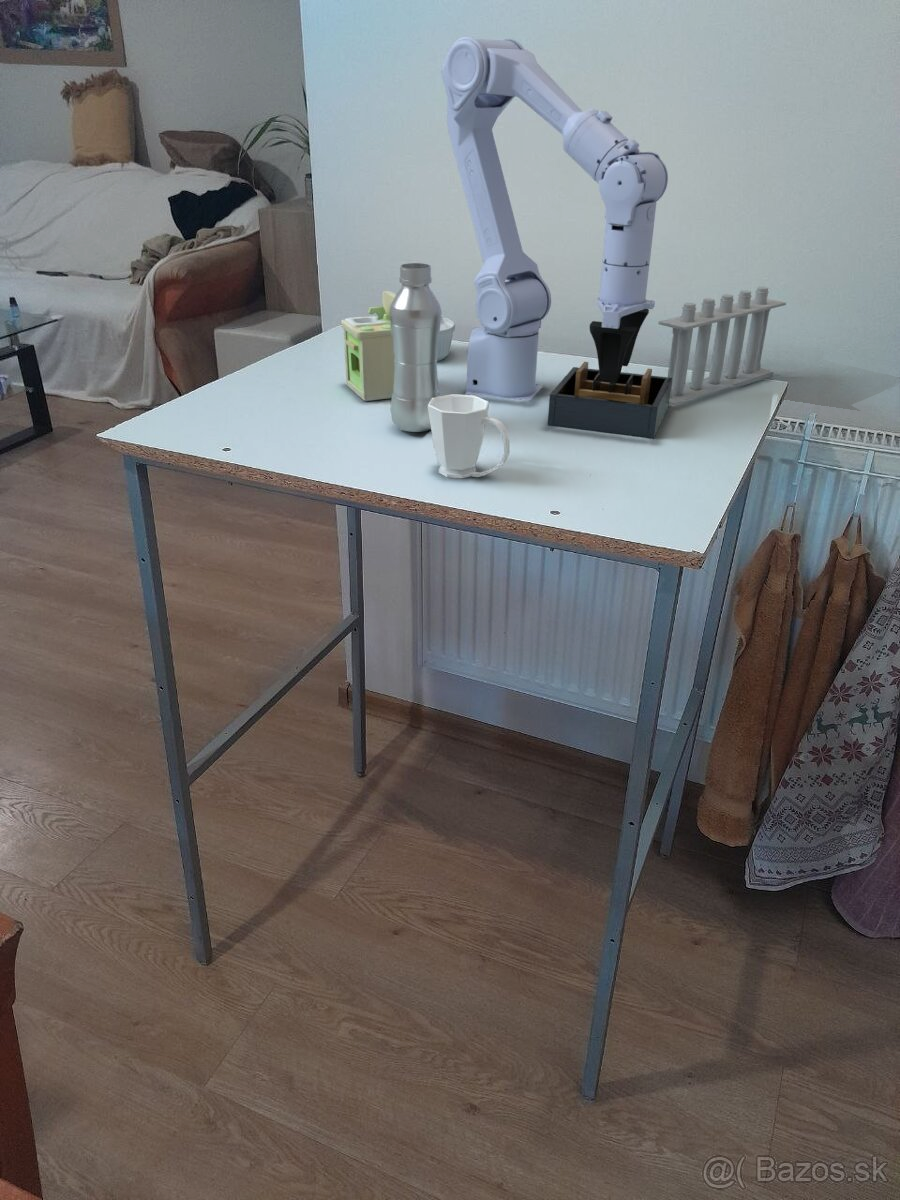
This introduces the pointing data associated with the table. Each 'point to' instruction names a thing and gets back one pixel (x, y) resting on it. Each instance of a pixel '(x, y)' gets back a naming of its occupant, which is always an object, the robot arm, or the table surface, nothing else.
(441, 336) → the ramekin
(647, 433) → the dark grey open box
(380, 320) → the toy sink
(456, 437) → the cup
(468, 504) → the table surface
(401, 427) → the silver bottle
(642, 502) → the table surface
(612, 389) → the dish rack
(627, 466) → the table surface
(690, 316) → the test tube rack
